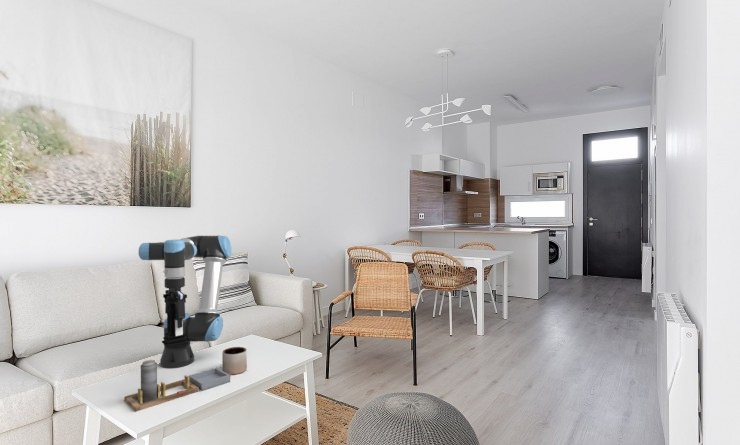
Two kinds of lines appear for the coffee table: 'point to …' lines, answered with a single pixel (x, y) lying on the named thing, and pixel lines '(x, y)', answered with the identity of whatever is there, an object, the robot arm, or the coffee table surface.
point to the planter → (234, 360)
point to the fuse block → (156, 388)
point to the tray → (209, 379)
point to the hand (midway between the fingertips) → (175, 333)
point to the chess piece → (172, 325)
